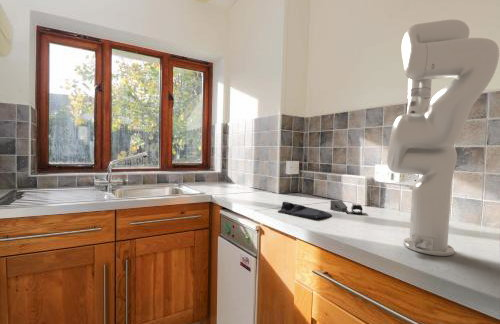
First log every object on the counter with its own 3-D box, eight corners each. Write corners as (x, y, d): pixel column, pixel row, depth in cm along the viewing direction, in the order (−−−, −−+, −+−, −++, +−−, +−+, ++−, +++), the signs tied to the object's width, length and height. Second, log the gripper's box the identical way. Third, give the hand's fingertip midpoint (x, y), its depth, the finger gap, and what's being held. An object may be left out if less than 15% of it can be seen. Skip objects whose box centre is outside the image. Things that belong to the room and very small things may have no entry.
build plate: (369, 213, 126) (369, 204, 126) (372, 217, 119) (373, 207, 119) (341, 212, 128) (341, 202, 128) (343, 215, 121) (343, 205, 121)
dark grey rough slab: (314, 222, 108) (315, 211, 107) (274, 212, 124) (275, 202, 124) (335, 217, 118) (335, 206, 118) (295, 208, 134) (295, 198, 134)
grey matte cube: (341, 212, 126) (342, 202, 126) (330, 209, 131) (330, 200, 131) (347, 210, 129) (347, 201, 129) (336, 208, 134) (336, 199, 134)
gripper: (421, 89, 93) (419, 139, 94) (437, 96, 104) (435, 141, 105) (398, 92, 99) (396, 139, 99) (416, 99, 110) (414, 141, 110)
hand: (416, 140), depth 102 cm, fingers open, 9 cm apart
